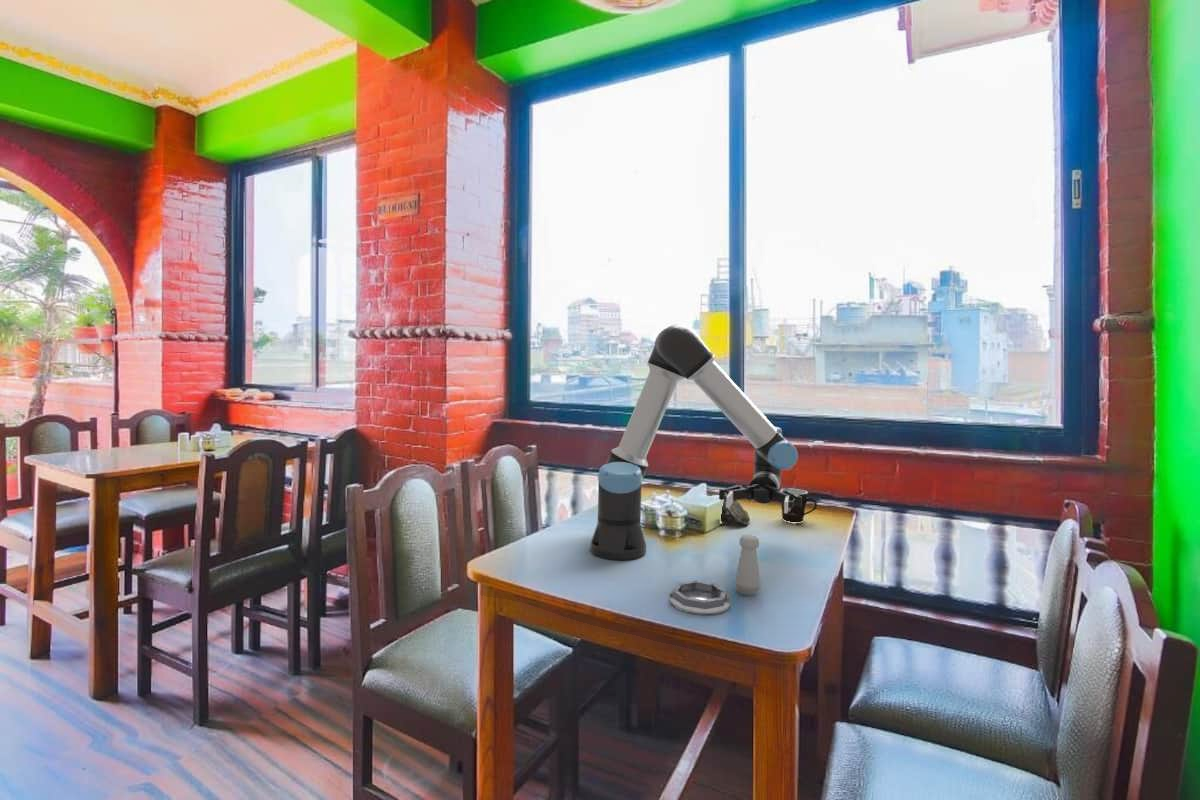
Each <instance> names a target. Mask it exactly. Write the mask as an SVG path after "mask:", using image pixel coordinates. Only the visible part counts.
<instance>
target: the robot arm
mask: <svg viewBox="0 0 1200 800" xmlns="http://www.w3.org/2000/svg"><path fill="white" fill-rule="evenodd" d="M647 366H648V369H649V372H648V375H647V376H646V380H645V382H644V385H643V386H642V389H641V392H640V394H639V396H638V399H637V401H636V403H635V406H634V409H633V411H632V413H631V416H630V418H629V421H628V423H627V425H626V428H625V430H624V433H623V435H622V438H621V440H620V442H619V444H618V446H617V447H615V448H612V449H611V451H610V454H609V455H608V458H607V460H606V463H605V464H603V465H602V466H601V467H600V468H599V471H598V475H597V476H598V477H597V480H598V490H597V491H598V494H597V496H598V497H597V499H598V501H597V523H596V527H595V529H594V532H593V536H592V538H591V541H590V552H591V554H593V555H595V556H597V557H599V558H602V559H607V560H612V561H613V560H614V561H615V560H616V561H627V560H629V561H630V560H636V559H639V558H641V557H643V556H645V555H646V553H647V542H646V539H645V535H644V532H643V529H642V524H641V521H642V520H641V519H642V518H641V516H642V513H641V512H642V488H643V487H642V484H643V480H644V477H645V475H646V472H647V469H648V467H649V463H648V460H647V455H648V453H649V451H650V448H651V447H652V444H653V442H654V439H655V437H656V436H657V435H656V434H657V432H658V430H659V427H660V425H661V423H662V420H663V418H664V415H665V413H666V410H667V408H668V405H669V403H670V401H671V398H672V395H673V394H674V391H675V389H676V387H677V384H678V383H679V382H680V381H683V380H685V379H686V380H688V381H689V380H690V381H693V382H694V383H695V384H696V385H697V387H699V389H700V390H701V391H702V392H703V393H704V394H705V395H706V396H707V398H709V400H711V402H712V403H714V405H715V406H716V407H717V408H718V409H719V410H720V411H721V413H722V414H723V415H725V417H726V418H727V419H728V420H729V421H730V422H731V424H733V425H734V427H736V429H737V430H738V431H739V432H740V433H741V434H742V435H743V436H744V437H745V438H746V439H747V440H748V441H749V443H750V444H752V446H753V447H754V464H753V478H752V479H751V481H750V482H749V484H748V485H746V486H745V487H743V486H742V485H741V484H739V483H737V484H736V485H733V486H729V487H725V488H721V489H719V491H718V492H719V493H718V494H719V495H718V499H719V500H720V501H723V502H726V508H729V507H730V506H731V504H732V503H733V500H737V501H739V500H744V499H745V500H747V501H751V500H753V501H755V502H757V503H759V504H765V505H766V504H770V503H774V502H775V503H779V504H781V503H782V504H784V513H788V508H793V507H794V505H795V506H797V507H801V505H802V497H801V496H799V495H797V494H795V493H794V492H792V491H790V490H789V489H788V488H787V487H786V488H782V489H783V491H780V490H779V489H780V486H781V485H782V471H785V470H789V469H791V468H793V467H794V466H795V465H796V464H797V462H798V458H799V453H798V450H797V448H796V447H795V445H794V444H793V443H792V442H790V441H788V440H787V439H786V438H785V436H784V435H783V430H782V428H781V427H778V426H774V425H773V424H772V422H771V421H770V420H769V419H768V418H767V416H765V414H764V413H762V412H761V411H760V409H759V408H758V407H757V406H756V405H755V404H754V403H753V402H752V400H751V399H750V398H749V397H748V395H747V394H745V393H744V392H743V391H742V389H741V388H740V387H739V386H738V385H737V383H735V382H734V381H733V380H732V379H731V377H730V376H729V375H727V373H726V372H725V371H724V370H723V369H722V368H721V366H719V365H718V363H717V362H716V361H715V354H714V353H713V352H712V351H711V350H710V348H708V346H707V345H706V344H705V343H704V341H703V340H702V339H701V336H699V334H698V333H697V332H696V330H694V329H693V328H692V327H690V326H688V325H686V324H680V323H678V324H673V325H670V326H668V327H666V328H664V329H663V330H662V331H660V333H658V335H657V336H656V338H655V341H654V346H653V349H652V351H651V353H650V356H649V359H648V361H647ZM784 489H785V490H784Z"/></svg>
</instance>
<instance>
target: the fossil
mask: <svg viewBox="0 0 1200 800" xmlns="http://www.w3.org/2000/svg"><path fill="white" fill-rule="evenodd" d="M722 503H723V506H722V514H721V521H722V523H723V524H722V525H724V524H731V523H734V524H737V525H738V526H742V527H746V526H748V525H749V523H750V521H751V519H750V515H749V513H748V511H746V510H745V509H744V507H743V506H742V504H741V503H740V502H739V501H738V500H733V503H732V504H731V506H730V507H729V508H726V502H724V501H723V502H722ZM745 525H746V526H745Z"/></svg>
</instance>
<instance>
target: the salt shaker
mask: <svg viewBox="0 0 1200 800" xmlns="http://www.w3.org/2000/svg"><path fill="white" fill-rule="evenodd" d="M739 546H740V547H741V550H740V555H739V559H738V565H737V569H736V573H735V577H734V585H735V587H736V591H737V592H738V593H739V594H741V595H742V594H743V596H749V595H751V596H755V595H757V594H758V592H759V590H760V588H761V585H762V584H761V576H760V569H759V562H758V561H759V560H758V554H757V548H759V546H760V540H759V538H758V537H757V536H756V535H753V534H743V535H741V536H740V538H739ZM751 596H750V597H751Z"/></svg>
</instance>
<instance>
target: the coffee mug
mask: <svg viewBox="0 0 1200 800" xmlns="http://www.w3.org/2000/svg"><path fill="white" fill-rule="evenodd" d="M783 489H784V490H785V488H781V489H780V490H779V491H783ZM788 489H789V490H790V491H792V492H794V493H795V494H797V495H799V496H801V497H802V505H801V507H797V506H795V505H794V507H793V508H788V513H784V504H782V503H780V504H781V517H782V518H783V519H784V520H786V521H790V522H801V521H803V522H804V517H805V515H808V514H810V513H812V512H813V511H815V510H816V509H817V506H818V503H817V501H816V500H815V499H814V498H811V497H809V498H808V494H809V492H808V491H807V490H804V489H799V488H792V487H791V488H788ZM808 501H812V502H813V503H814V507H813V508H812V509H810V510H809V511H805V510H806V505H807V502H808ZM783 519H782V520H783Z"/></svg>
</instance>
